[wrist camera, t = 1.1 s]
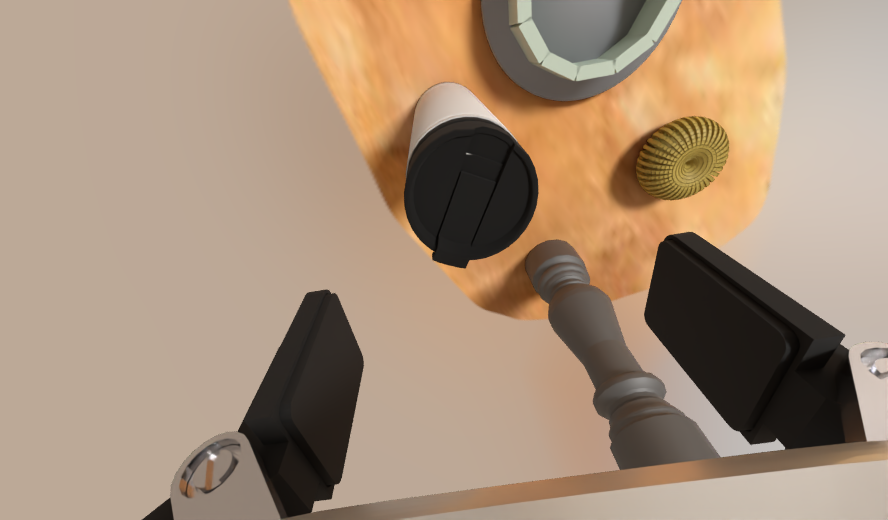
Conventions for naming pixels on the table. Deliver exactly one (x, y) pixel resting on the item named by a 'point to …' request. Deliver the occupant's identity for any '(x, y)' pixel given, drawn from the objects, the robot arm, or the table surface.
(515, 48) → the mug dock
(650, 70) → the table surface
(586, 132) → the table surface
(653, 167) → the sculpture
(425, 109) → the travel mug
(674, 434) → the candle holder
